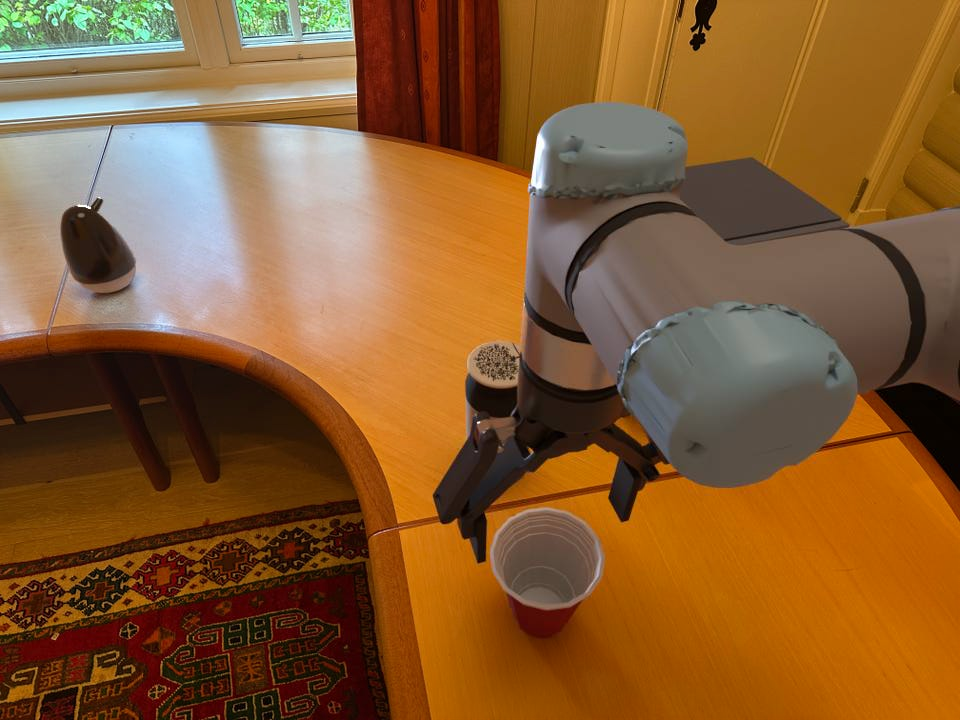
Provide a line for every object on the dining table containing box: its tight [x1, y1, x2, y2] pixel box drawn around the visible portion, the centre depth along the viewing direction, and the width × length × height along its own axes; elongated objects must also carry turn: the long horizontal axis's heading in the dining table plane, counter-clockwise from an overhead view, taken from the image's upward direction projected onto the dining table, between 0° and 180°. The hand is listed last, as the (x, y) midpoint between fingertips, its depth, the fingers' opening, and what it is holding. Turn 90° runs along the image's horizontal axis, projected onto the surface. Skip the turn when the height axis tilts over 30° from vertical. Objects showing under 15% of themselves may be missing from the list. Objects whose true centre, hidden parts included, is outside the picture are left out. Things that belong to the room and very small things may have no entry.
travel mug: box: [464, 340, 530, 480], centre depth 73 cm, size 8×8×18 cm
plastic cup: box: [489, 506, 606, 639], centre depth 61 cm, size 11×11×12 cm
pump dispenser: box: [59, 197, 137, 294], centre depth 103 cm, size 10×10×15 cm
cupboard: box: [679, 156, 843, 241], centre depth 86 cm, size 18×26×26 cm
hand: (549, 528), depth 54 cm, fingers open, 13 cm apart
